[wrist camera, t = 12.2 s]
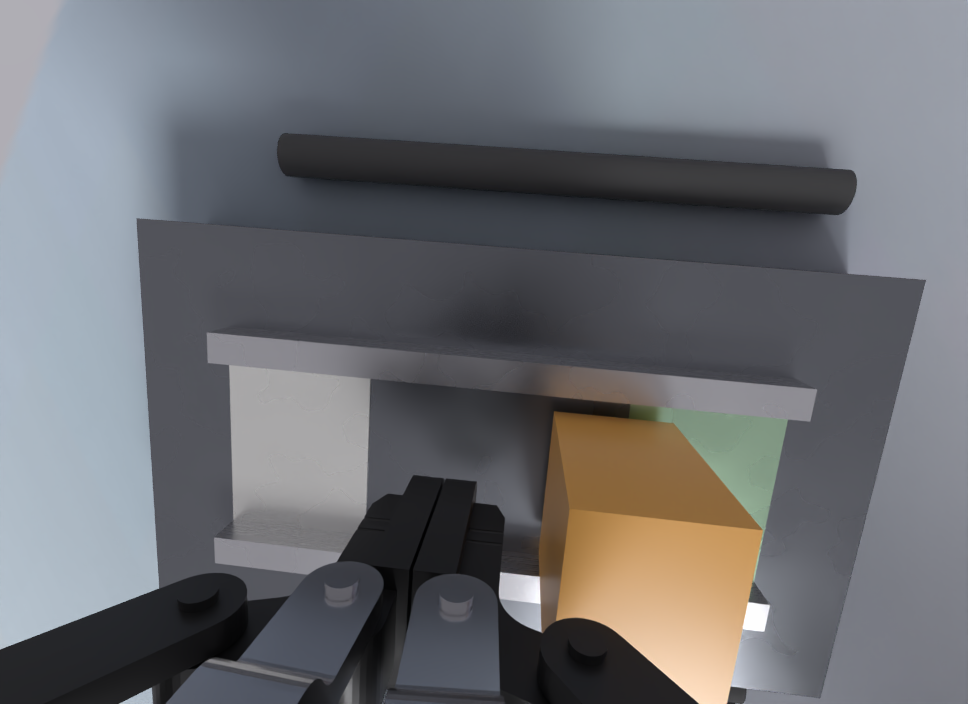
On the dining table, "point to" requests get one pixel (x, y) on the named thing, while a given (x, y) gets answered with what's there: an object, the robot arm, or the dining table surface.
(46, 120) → the dining table surface
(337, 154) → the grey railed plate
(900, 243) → the dining table surface
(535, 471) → the panel
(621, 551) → the lever
